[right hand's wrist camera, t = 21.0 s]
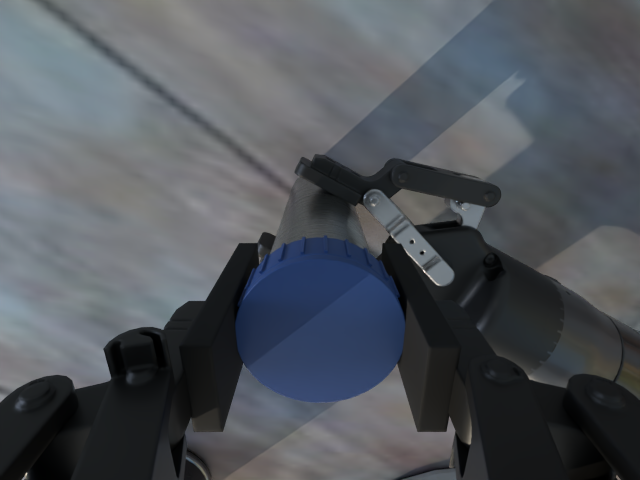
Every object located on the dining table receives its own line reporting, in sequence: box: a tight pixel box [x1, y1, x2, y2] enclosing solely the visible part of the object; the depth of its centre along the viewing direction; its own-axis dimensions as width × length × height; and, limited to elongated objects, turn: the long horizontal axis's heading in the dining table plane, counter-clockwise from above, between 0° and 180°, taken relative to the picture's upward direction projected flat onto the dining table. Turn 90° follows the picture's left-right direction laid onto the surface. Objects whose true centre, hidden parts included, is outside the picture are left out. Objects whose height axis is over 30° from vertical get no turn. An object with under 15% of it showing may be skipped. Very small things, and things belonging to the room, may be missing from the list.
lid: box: [235, 235, 405, 403], centre depth 11 cm, size 5×5×2 cm
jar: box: [270, 177, 370, 254], centre depth 19 cm, size 4×4×16 cm
